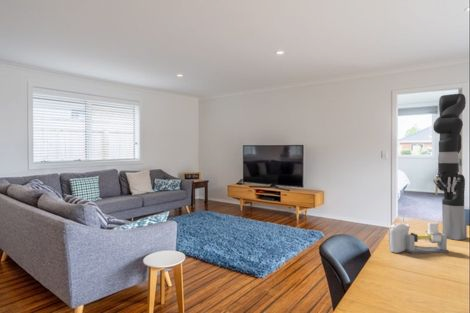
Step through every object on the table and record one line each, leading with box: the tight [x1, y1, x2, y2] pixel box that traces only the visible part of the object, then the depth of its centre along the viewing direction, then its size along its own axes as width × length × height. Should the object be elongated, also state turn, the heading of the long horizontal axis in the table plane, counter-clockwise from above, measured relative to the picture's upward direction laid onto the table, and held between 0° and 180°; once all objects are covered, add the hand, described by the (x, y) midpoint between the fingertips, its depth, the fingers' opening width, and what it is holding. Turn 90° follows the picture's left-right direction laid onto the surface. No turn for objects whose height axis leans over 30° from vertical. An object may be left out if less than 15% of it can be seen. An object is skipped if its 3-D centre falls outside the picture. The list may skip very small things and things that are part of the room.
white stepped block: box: [425, 222, 442, 244], centre depth 130 cm, size 4×4×8 cm
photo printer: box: [388, 222, 407, 254], centre depth 131 cm, size 10×4×12 cm, turn 124°
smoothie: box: [402, 215, 411, 234], centre depth 139 cm, size 6×6×14 cm
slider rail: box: [404, 232, 449, 255], centre depth 129 cm, size 17×5×8 cm, turn 93°
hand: (448, 200), depth 130 cm, fingers closed
